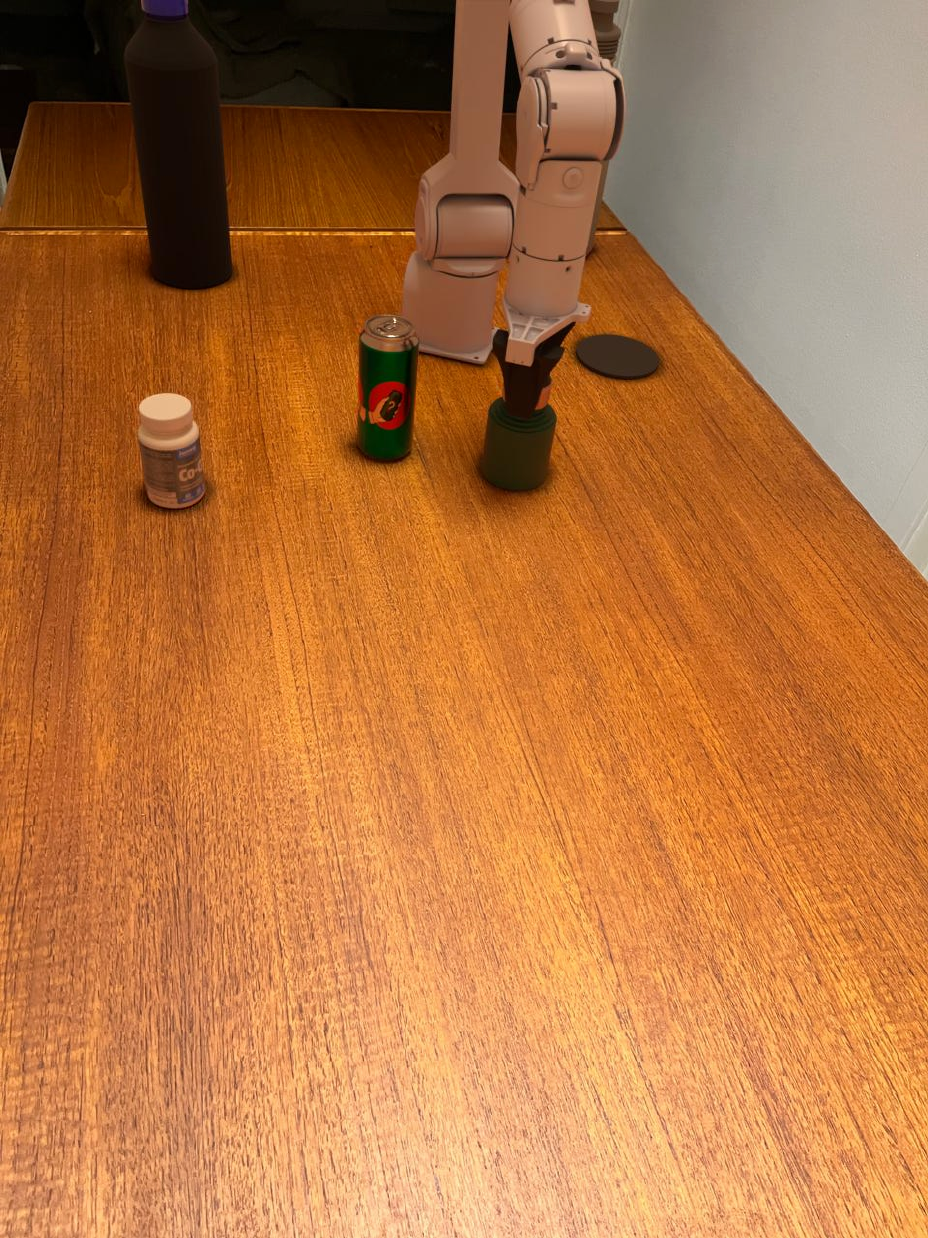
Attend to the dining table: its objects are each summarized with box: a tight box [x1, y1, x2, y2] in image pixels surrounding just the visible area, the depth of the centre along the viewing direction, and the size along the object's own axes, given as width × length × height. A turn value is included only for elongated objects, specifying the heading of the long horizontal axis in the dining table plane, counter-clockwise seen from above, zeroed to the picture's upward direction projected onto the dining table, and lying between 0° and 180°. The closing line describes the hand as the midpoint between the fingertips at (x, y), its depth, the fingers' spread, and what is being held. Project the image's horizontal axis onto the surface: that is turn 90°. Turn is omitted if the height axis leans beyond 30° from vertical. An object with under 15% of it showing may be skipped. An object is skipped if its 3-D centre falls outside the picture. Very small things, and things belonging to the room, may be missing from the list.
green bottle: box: [480, 396, 558, 492], centre depth 85 cm, size 6×6×9 cm
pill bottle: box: [137, 392, 206, 509], centre depth 78 cm, size 5×5×8 cm
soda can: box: [356, 314, 420, 461], centre depth 85 cm, size 5×5×12 cm
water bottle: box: [586, 0, 622, 256], centre depth 116 cm, size 10×10×28 cm
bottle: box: [123, 0, 233, 290], centre depth 101 cm, size 9×9×28 cm
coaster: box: [575, 333, 660, 380], centre depth 105 cm, size 9×9×1 cm
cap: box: [500, 374, 553, 410], centre depth 82 cm, size 4×4×2 cm
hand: (525, 402), depth 83 cm, fingers closed on cap, 4 cm apart
